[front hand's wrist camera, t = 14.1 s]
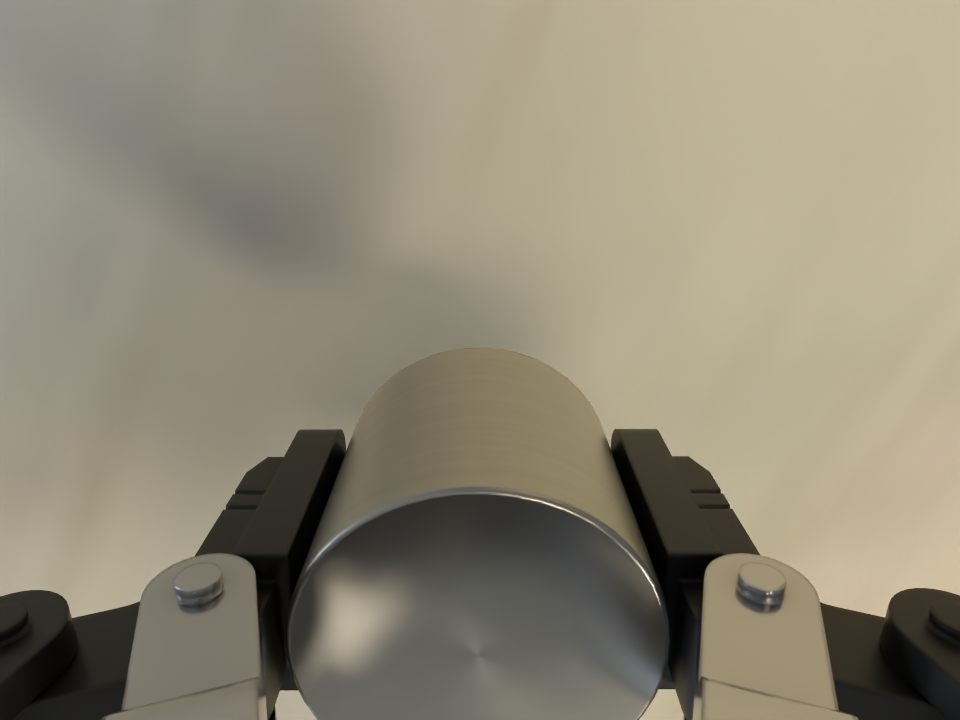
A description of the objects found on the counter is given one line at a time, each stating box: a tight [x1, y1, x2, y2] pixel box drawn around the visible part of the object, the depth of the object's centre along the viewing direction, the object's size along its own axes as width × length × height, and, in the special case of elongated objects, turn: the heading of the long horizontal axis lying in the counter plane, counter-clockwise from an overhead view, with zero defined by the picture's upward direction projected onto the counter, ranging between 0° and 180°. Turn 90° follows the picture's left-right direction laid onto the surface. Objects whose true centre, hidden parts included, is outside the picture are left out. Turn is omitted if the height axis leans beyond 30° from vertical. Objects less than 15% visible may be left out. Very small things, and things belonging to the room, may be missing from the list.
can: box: [286, 348, 671, 720], centre depth 10 cm, size 5×5×4 cm
